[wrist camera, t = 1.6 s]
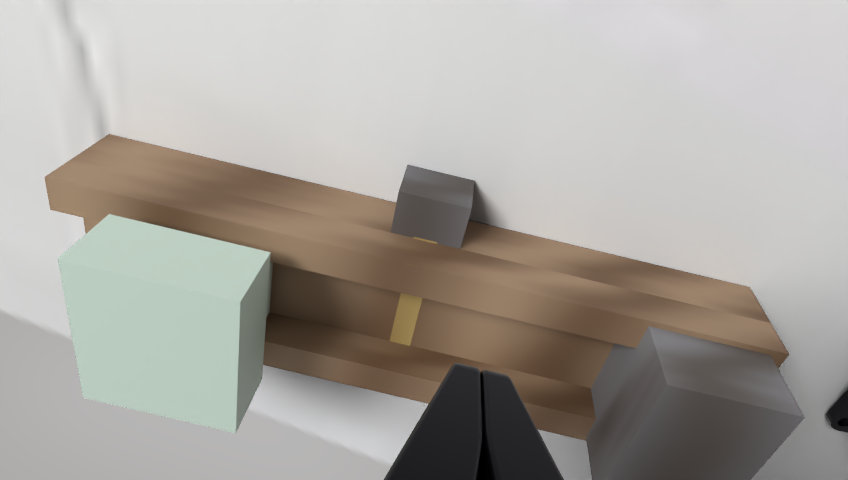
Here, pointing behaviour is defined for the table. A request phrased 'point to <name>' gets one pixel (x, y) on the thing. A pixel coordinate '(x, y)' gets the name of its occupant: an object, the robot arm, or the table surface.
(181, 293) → the block
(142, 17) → the table surface
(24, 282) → the table surface
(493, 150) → the table surface
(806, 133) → the table surface
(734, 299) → the beam
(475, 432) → the robot arm
